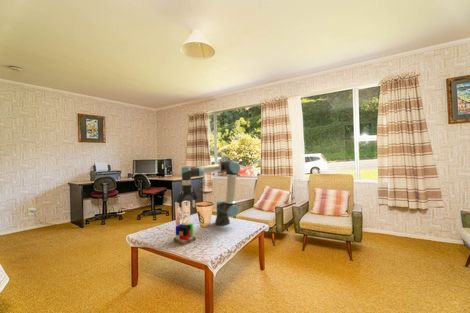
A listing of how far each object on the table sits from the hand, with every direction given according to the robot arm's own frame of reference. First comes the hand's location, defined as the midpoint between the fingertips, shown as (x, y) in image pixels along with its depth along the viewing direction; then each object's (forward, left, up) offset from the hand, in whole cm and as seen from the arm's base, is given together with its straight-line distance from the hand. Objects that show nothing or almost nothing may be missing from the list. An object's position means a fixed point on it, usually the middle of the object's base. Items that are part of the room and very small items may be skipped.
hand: (187, 209), depth 187 cm
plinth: (+6, +3, -25) cm, 26 cm away
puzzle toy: (+6, +3, -22) cm, 23 cm away
